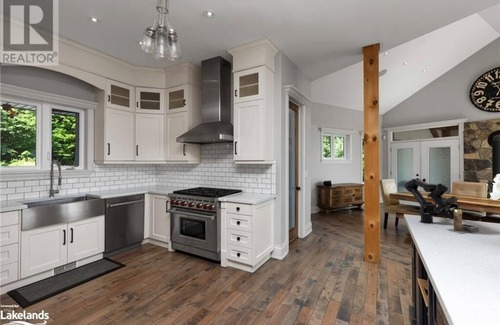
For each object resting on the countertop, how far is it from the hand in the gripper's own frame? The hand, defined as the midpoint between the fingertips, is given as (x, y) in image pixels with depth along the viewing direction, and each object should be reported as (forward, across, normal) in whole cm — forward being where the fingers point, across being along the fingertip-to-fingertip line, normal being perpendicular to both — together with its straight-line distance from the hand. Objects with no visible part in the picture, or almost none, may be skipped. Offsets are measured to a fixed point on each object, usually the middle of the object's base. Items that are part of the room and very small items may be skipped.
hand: (457, 218), depth 148 cm
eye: (+7, +8, +5) cm, 12 cm away
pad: (+6, 0, +6) cm, 8 cm away
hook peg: (+6, 0, +6) cm, 8 cm away
